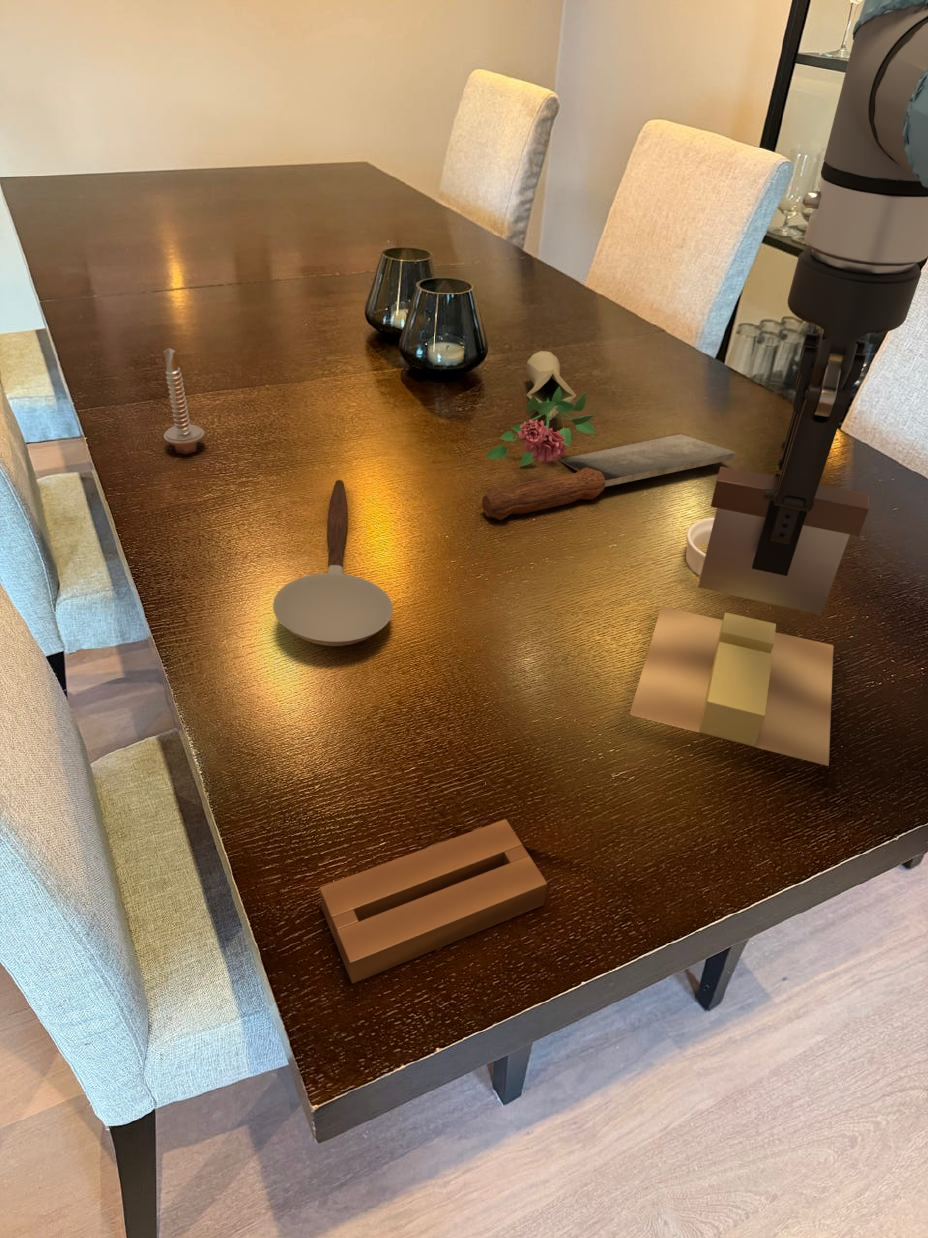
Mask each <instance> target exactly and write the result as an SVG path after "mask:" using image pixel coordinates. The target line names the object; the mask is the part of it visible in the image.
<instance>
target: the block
mask: <svg viewBox="0 0 928 1238" xmlns="http://www.w3.org/2000/svg"><path fill="white" fill-rule="evenodd" d="M547 888H548V882H547V881H546V879H545V877H544V876H543V874H542V873H541V871H540V870H539V868H538V866H537V865H536V863H535V862H534V860H533V858H532V857H531V856H530V854H529V853H528V851H527V850H526V848H525V847H524V845H523V843H522V842H521V840H520V838H519V837H518V836H517V834H516V832H515V830H514V829H513V828H512V826H511V824H510V823H509V821H508V819H506V818H504V819H502V820H499V821H497V822H494V823H491V824H488V825H485V826H483V827H479V828H477V829H475V830H472V831H469V832H466V833H463V834H461V835H459V836H455V837H453V838H450V839H447V840H444V841H442V842H438V843H437V844H434V845H430V846H428V847H426V848H423V849H420V850H417V851H414V852H412V853H409V854H406V855H404V856H401V857H398V858H395V859H393V860H390V861H387V862H385V863H382V864H379V865H377V866H374V867H371V868H368V869H365V870H363V871H360V872H357V873H355V874H352V875H349V876H347V877H343V878H341V879H338V880H336V881H333V882H331V883H328V884H325V885H322V886H319V895H320V905H321V911H322V913H323V915H324V918H325V920H326V923H327V926H328V928H329V930H330V934H331V935H332V938H333V940H334V942H335V945H336V948H337V950H338V953H339V955H340V958H341V960H342V962H343V964H344V965H343V966H344V968H345V970H346V973H347V975H348V978H349V981H350V983H351V984H352V985H353V984H355V983H358V982H361V981H363V980H367V979H368V978H370V977H373V976H376V975H378V974H380V973H383V972H385V971H388V970H390V969H392V968H394V967H397V966H399V965H401V964H405V963H406V962H409V961H412V960H414V959H416V958H419V957H422V956H423V955H424V956H425V955H426V954H428V953H431V952H433V951H436V950H438V949H441V948H443V947H446V946H448V945H450V944H452V943H456V942H457V941H460V940H462V939H465V938H467V937H470V936H472V935H475V934H476V933H480V932H482V931H484V930H486V929H489V928H492V927H495V926H497V925H499V924H501V923H503V922H505V921H508V920H511V919H513V918H515V917H518V916H521V915H523V914H526V913H528V912H531V911H532V910H535V909H538V908H539V907H542V906H544V905H545V901H546V894H547Z"/></svg>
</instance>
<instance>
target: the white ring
mask: <svg viewBox="0 0 928 1238" xmlns="http://www.w3.org/2000/svg"><path fill="white" fill-rule="evenodd" d="M714 519H715V517H708V518H704V519H700V520H698V521H696V522H693V524H691V525H690V527H689V528H688V530H687V531H686V553H685V554H686V555H685V558H686V559H685V560H686V563H687V565H688V567H689V568H690V569H691V570H692V571H693V572H694V573H695V574H697V575H698V576H699V577H701V572H702V568H703V564H704V560H705V556H706V553H705V552H703V551H701V549H700V548H701V547H703V546H708V543H709V539H710V535H711V531H712V527H713V523H714Z"/></svg>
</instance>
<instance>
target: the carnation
mask: <svg viewBox="0 0 928 1238" xmlns="http://www.w3.org/2000/svg"><path fill="white" fill-rule="evenodd" d="M525 368H526V369H525V372H526V375H527V377H528V379H529V381H531V383H532V384H533V387H532V388H531V389H530V390H529V392H528V393H527V394H526V396H527V397H528V399H529V401H528V403H527V406H526V409H525V413H529V418H530V419H529V420H525V421H524V422H523V423H518V424H515V425H513V426H510V428H511V430H513V431H514V432H516V433H517V434H514V433H513V431H511V430H510V431H507V432H504V433H503V434H502V436H500V437H499V440H502V441H504V442H511V443H510V444H509V446H508V447H505V446H504V445H503V444H500V445H497V446H495V447H493V448H492V449H490V450H489V451H488V453H486V455H485V458H489V459H491V460H497V459H498V460H499V459H503V458H506V457H507V453H508V450H509V448H510V447H511V446H512V444H513V443H514V442H515V441H516V440H517V438H518V439H519V440H523V439H525V440H524V444H525V446H524V450H525V452H524V453H523V455H522V456H521V459H520V463H519V467H524V466H527V465H530V464H531V463H533V461H535V460H536V461H538V462H540V463H545V464H546V463H553V462H555V461H557V460H558V459H562V456H563V455H565V454H566V450H569V449H570V446H571V443H572V431H571V428H570V427H569V428H568V427H565V426H564V424H562V425H563V426H562V428H561V429H559V430H557V431H553V427H550V421H551V420H552V419H553V418H554V419H559V416H561V417H560V419H561V421H562V422H564V420H569V421H571V422H572V423H573V424H574V425H575V429H576V431H579V432H581V433H583V434H586V435H591V434H593V435H594V434H597V432H596V430H595V427H594V426H593V425H592V424H591V423H590V422H589V421H590V420H591V419H592V418H594V417H595V414H588V415H583V416H579V417H574V418H572V417H571V416H569V415H568V413H571V412H582V411H583V410H584V408H585V405H586V403H587V392H586V391H584V393H583V394H582V395H581V396H579V397H578V399H577V401H576V402H575V404H574V405H573V403H572V401H573V400H574V399H575V398H576V397H577V394H576V393H575V392H574V391H573V389H572V388H571V387H570V386H569V385H568V384H567V382H565V379H563V378H562V377H561V364H560V362H559V359H558V357H557V355H555V354H553V353H552V352H551V351H545V350H543V351H542V350H540V351H538V352H535V353H533V354H532V355H531V356H530V358H529V359H528V360H527V362H526V367H525ZM536 412H538V414H539V415H537V416H535V417H534V418H533V417H532V418H531V416H532V415H533V414H534V413H536ZM559 413H560V414H559ZM563 415H566V416H567V418H566V417H564V416H563ZM543 416H545V419H544V420H541V421H538V419H540V418H541V417H543ZM515 436H516V437H515ZM514 437H515V438H514ZM558 461H559V460H558Z"/></svg>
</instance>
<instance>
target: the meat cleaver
mask: <svg viewBox="0 0 928 1238" xmlns="http://www.w3.org/2000/svg"><path fill="white" fill-rule="evenodd" d="M735 459H736V451H734V450H731V449H727V448H724V447H721V446H718V445H715V444H712V443H709V442H706V441H703V440H700V439H697V438H694V437H690V436H688V435H685V434H682V433H681V434H680V433H679V434H674V435H670V436H666V437H660V438H655V439H650V440H646V441H641V442H640V441H639V442H635V443H631V444H626V445H621V446H617V447H612V448H607V449H602V450H597V451H592V452H587V453H583V454H577V455H573V456H568V457H564V458H560V459H558V461H559V462H561V463H563V464H564V465H566V466H568V467H570V468H571V469H573V470H574V471H576V472H571V473H560V474H555V475H551V476H546V477H542V478H541V477H540V478H537V479H532V480H528V481H523V482H518V483H515V484H513V485H512V486H509V487H507V488H501V487H495V486H494V487H492V488H491V489H490V490H489V491H487V492H486V493H485V494H484V495H483V496H482V500H481V505H482V510H483V513H484V514H485V515H486V517H489V518H491V519H495V520H499V521H502V520H504V519H505V518H507V517H508V516H510V515H524V514H528V513H532V512H533V513H534V512H537V511H543V510H546V509H550V508H555V507H559V506H565V505H568V504H571V503H573V502H575V501H578V500H589V501H592V500H594V499H596V498H597V496H599V495H600V494H601V493H602V492H603V491H604V490H605V488H606V487H611V486H616V485H620V484H625V483H629V482H634V481H638V480H644V479H648V478H652V477H657V476H662V475H667V474H671V473H676V472H681V471H686V470H691V469H694V468H700V467H705V466H710V465H714V464H718V463H722V462H728V461H732V460H735Z"/></svg>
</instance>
